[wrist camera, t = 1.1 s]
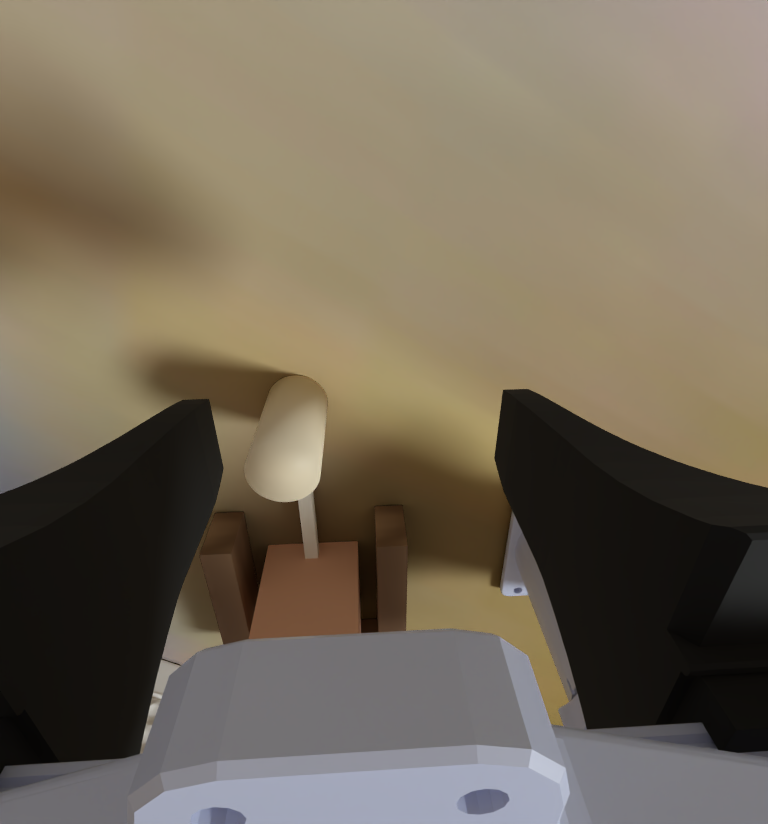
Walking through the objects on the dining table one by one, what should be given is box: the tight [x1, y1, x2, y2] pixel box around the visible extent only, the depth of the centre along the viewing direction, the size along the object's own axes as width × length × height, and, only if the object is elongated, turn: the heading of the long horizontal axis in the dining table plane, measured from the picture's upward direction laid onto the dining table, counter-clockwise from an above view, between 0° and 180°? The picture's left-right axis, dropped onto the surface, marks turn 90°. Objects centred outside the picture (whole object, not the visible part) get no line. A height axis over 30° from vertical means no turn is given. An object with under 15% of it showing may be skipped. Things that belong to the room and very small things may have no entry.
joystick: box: [244, 375, 361, 639], centre depth 23 cm, size 5×15×6 cm, turn 1°
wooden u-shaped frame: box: [199, 505, 408, 645], centre depth 27 cm, size 10×10×3 cm
